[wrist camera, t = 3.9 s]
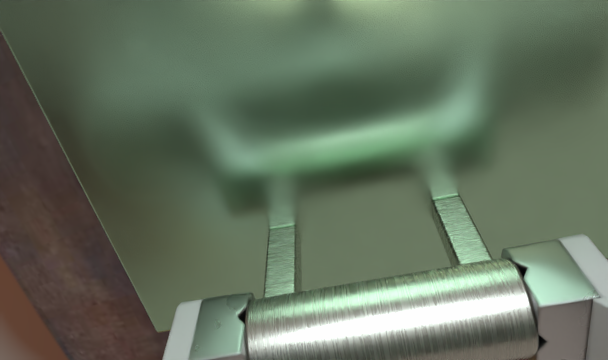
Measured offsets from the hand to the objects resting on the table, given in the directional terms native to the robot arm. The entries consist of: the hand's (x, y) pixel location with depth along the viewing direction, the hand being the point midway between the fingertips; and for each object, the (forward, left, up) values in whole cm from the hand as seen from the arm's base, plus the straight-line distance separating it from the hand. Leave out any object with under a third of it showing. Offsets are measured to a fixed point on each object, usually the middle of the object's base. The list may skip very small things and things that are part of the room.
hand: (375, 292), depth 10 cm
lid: (-4, +4, -3) cm, 7 cm away
